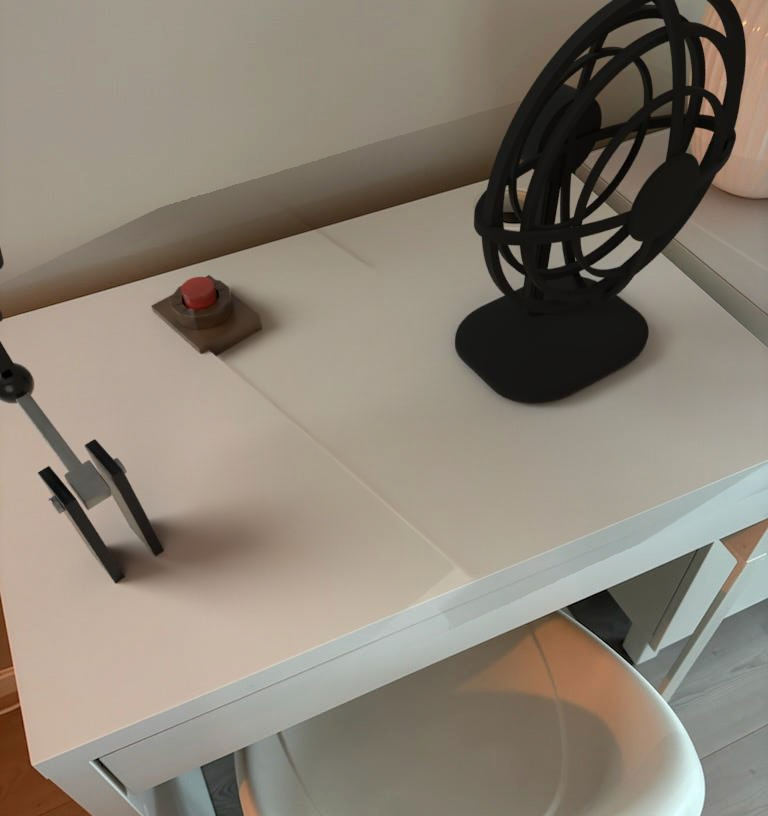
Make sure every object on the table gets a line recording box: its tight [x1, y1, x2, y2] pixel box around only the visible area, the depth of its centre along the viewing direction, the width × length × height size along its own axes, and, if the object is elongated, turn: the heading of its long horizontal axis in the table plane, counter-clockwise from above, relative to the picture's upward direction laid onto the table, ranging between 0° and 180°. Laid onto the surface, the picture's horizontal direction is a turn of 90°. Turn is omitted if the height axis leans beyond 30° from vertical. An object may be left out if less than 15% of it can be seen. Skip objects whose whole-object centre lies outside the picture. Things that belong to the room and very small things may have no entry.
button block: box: [150, 274, 263, 357], centre depth 85 cm, size 10×8×4 cm
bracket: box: [37, 439, 165, 584], centre depth 63 cm, size 12×9×13 cm
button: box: [181, 276, 217, 310], centre depth 83 cm, size 4×4×2 cm
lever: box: [0, 362, 112, 511], centre depth 59 cm, size 13×3×3 cm, turn 42°
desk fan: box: [454, 0, 747, 404], centre depth 67 cm, size 27×18×35 cm, turn 122°
